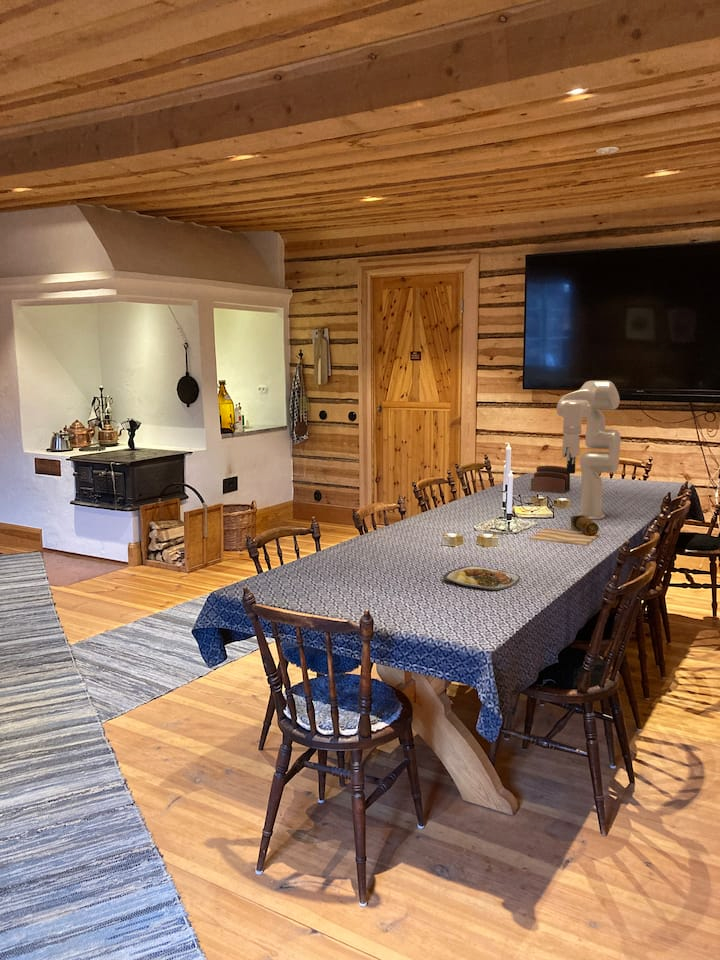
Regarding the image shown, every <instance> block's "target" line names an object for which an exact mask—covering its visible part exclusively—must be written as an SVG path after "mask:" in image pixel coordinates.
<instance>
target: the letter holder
mask: <svg viewBox="0 0 720 960" xmlns="http://www.w3.org/2000/svg"><path fill="white" fill-rule="evenodd" d="M535 470H536V471H535V472H534V473H533V477H531V479H530V491H531V492H540V493H555V494H566V493H568V492H570V490H571V487H570V486H571V473H567V467H566V466H558V465H540V466H539V465H538V466H536V469H535Z"/></svg>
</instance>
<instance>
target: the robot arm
mask: <svg viewBox="0 0 720 960" xmlns="http://www.w3.org/2000/svg"><path fill="white" fill-rule="evenodd" d="M620 399H621V398H620V394H619V391H618V390H617V387H616V386H615V383H613V382H612V381H610V380H588V381H585V382H584V383H583V385H582V386H581V387H580V388H579V389H577V390H575V391H572V392H570V393H567V394H564V395H563V396H561V398H560V399H559V400H558V402H557V405H556V414H558V416H559V417H562V418H563V419H562V435H563V439H562V448H561V449H562V450H561V457H562V458H565V457H566V458H565V460H566V468H567V473H570V474H573V475H574V474H575V473H576V461H577V456H579V455H580V444H581V443H580V435H582V418H586V428H585V429H586V430H585V439H584V441H585V446H586V448H588V449H591V450H592V449H594V450H608V451H594V450H593V451H591V450H590V451H585V452H583V453H582V454H581V455H580V458H579V462H580V463H579V464H580V471H581V472H580V473H581V484H580V486H581V487H580V488H581V492H580V512H578V513H577V515H576V516H579V515H589V520H601V519H604V518H605V516H606V515H605V514H604V513H602V503H603V502H602V501H603V500H602V499H603V479H602V477H601V476H600V473H616V472H617V471H618V469H619V464H620V453H621V443H622V442H621V440H622V439H621V434H620V433H621V432H619V430H616V429H613V428H612V429H610V428H609V429H607V428H606V422H607V421H606V420H607V419H606V417H605V415H604V414H603V413H602V411H601V410H616V409H618V407H619V406H620V401H621V400H620Z"/></svg>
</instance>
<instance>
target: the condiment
mask: <svg viewBox="0 0 720 960" xmlns="http://www.w3.org/2000/svg"><path fill="white" fill-rule="evenodd" d="M599 530H600V529H599V526H598V523H596V522H595V521H593V520H592V519H589V515H579V516H577V515H570V531H578V532H584V533H586V534H590V535H595V534H598V532H599Z"/></svg>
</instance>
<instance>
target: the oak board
mask: <svg viewBox="0 0 720 960" xmlns="http://www.w3.org/2000/svg"><path fill="white" fill-rule="evenodd" d="M600 536H601V534H600V533H596V534H595V535H590V534H586V533H584V532H582V531H580V532H578V531H571V530H567V529H558V528H548V527H546V528H543V529H542V530H540V531H538V532H536V533H535V534H533V535H531V536H530V537H529V540H532V541H533V540H535V541H542V542H549V543H550V542H551V543H561V544H569V545H576V546H577V545H578V546H586V547H587V546H588V545H589V544H590V543H592V542H594V541H595V540H596V539H597V538H599V537H600Z"/></svg>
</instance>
